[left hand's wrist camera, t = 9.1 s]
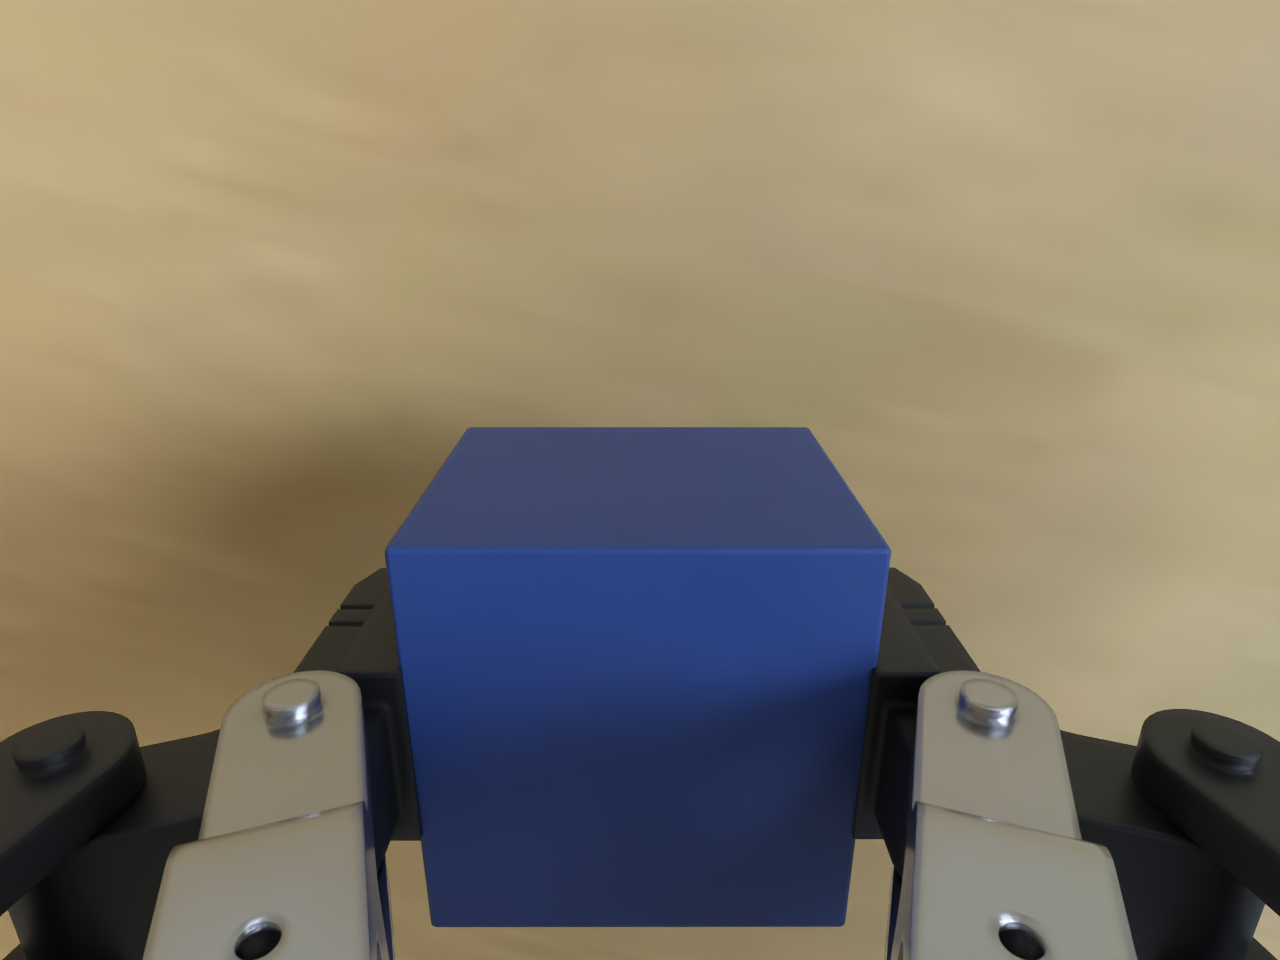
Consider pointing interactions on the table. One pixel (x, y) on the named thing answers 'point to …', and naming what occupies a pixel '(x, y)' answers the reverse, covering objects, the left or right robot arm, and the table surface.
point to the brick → (637, 676)
